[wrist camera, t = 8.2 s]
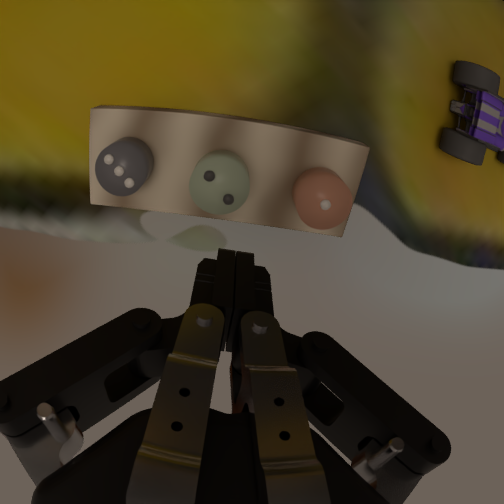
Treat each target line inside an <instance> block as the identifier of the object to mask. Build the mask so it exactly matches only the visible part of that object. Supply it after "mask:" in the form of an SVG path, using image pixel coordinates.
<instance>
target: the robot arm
mask: <svg viewBox="0 0 504 504" xmlns="http://www.w3.org/2000/svg"><path fill="white" fill-rule="evenodd" d="M503 1H504V0H503ZM235 253H236V256H235ZM270 281H271V280H270V274H269V273H268V271H267V270H266V268H265V267H262V266H255V265H254V254H253V253H247V252H241V251H237V252H236V251H234V250H227V249H221V248H219V249H218V256H217V260H215V259H208V258H204V259H203V260H202V261H201V262H200V263H199V264H198V267H197V272H196V277H195V282H194V286H193V291H192V296H191V302H190V306H189V308H188V309H187V310H186V312H185V313H184V314H182V315H180V316H178V317H174V318H166V319H161V317H160V316H159V315H158V314H157V313H156V312H155V311H153V310H150V309H147V308H136V309H132V310H130V311H128V312H126V313H124V314H122V315H121V316H119V317H117V318H115V319H113V320H111V321H109V322H108V323H106V324H104V325H102V326H100V327H98V328H97V329H95V330H93V331H92V332H89V333H87V334H86V335H84V336H82V337H80V338H78V339H76V340H75V341H73V342H71V343H69V344H67V345H65V346H64V347H62V348H60V349H58V350H56V351H54V352H53V353H51V354H49V355H47V356H46V357H44V358H42V359H40V360H38V361H36V362H34V363H33V364H31V365H29V366H27V367H25V368H24V369H22V370H20V371H18V372H16V373H15V374H13V375H11V376H9V377H7V378H5V379H3V380H2V381H0V432H1V433H2V435H3V436H4V437H5V438H6V439H7V440H8V441H9V443H10V444H11V446H12V448H13V450H14V451H15V453H16V454H17V457H18V458H19V460H20V462H21V463H22V465H23V467H24V468H25V470H26V471H27V473H28V474H29V476H30V477H31V479H32V480H33V482H34V483H35V485H36V486H37V487H36V489H35V491H34V493H33V496H32V501H31V504H403V502H404V501H405V500H406V498H407V497H408V496H409V495H410V493H411V492H412V491H413V489H414V488H415V486H416V485H417V484H418V482H419V480H420V479H421V478H422V476H424V475H425V474H427V473H428V472H430V471H431V470H433V469H434V468H436V467H438V466H439V465H441V464H442V463H444V462H445V461H446V460H447V459H448V458H449V456H450V453H451V445H450V441H449V439H448V438H447V436H446V435H445V434H444V433H443V432H442V431H441V430H440V429H438V428H437V427H436V426H435V425H434V424H433V423H431V422H430V421H429V420H428V419H426V418H425V417H424V416H423V415H422V414H421V413H419V412H418V411H417V410H416V409H415V408H414V407H412V406H411V405H410V404H409V403H408V402H406V401H405V400H404V399H403V398H402V397H400V396H399V395H398V394H397V393H396V392H395V391H394V390H392V389H391V388H390V387H389V386H388V385H386V384H385V383H384V382H383V381H382V380H380V379H379V378H378V377H377V376H376V375H375V374H374V373H372V372H371V371H370V370H369V369H368V368H367V367H365V366H364V365H363V364H362V363H361V362H360V361H358V360H357V359H356V358H355V357H354V356H352V355H351V354H350V353H349V352H348V351H347V350H346V349H344V348H343V347H342V346H341V345H340V344H339V343H338V342H336V341H335V340H334V339H333V338H332V337H330V336H329V335H327V334H325V333H322V332H318V331H313V332H308V333H306V334H305V335H304V336H303V337H299V336H296V335H293V334H290V333H288V332H286V331H285V330H283V329H282V328H281V327H280V325H279V323H278V321H277V319H276V318H275V317H274V311H273V301H272V292H271V282H270ZM225 343H226V351H227V352H232V360H231V365H230V384H231V400H232V414H226V413H223V412H220V411H217V410H214V409H211V408H210V403H211V397H212V391H213V385H214V379H215V373H216V368H217V364H218V362H219V357H220V352H221V351H224V348H225ZM160 379H161V380H160ZM159 380H160V383H159V386H158V390H157V393H156V396H155V400H154V403H153V407H152V408H150V409H146V410H143V411H140V412H138V413H136V414H134V415H132V416H130V417H129V418H128V419H126V420H125V421H124V422H122V423H121V424H120V425H118V426H117V427H116V428H114V429H113V430H112V431H110V432H109V433H108V434H106V435H105V436H104V437H102V438H101V439H99V440H98V441H97V442H95V443H94V444H93V445H91V446H90V447H88V448H87V449H86V450H84V451H83V452H82V453H80V454H79V455H77V456H76V457H75V458H73V456H74V455H75V454H76V453H77V452H78V451H79V450H80V449H81V447H82V445H83V440H84V438H83V433H82V432H84V431H85V430H87V429H89V428H90V427H91V426H93V425H95V424H96V423H98V422H99V421H101V420H102V419H104V418H105V417H107V416H108V415H110V414H111V413H113V412H114V411H116V410H117V409H119V408H120V407H122V406H123V405H124V404H126V403H127V402H129V401H130V400H132V399H133V398H135V397H136V396H137V395H139V394H140V393H142V392H143V391H145V390H146V389H148V388H149V387H150V386H152V385H153V384H155V383H156V382H158V381H159ZM321 382H322V383H324V384H325V385H326V386H327V387H328V388H329V389H330V390H331V391H332V392H333V393H334V394H335V395H336V396H337V397H339V398H340V399H341V400H340V399H339V398H337V397H336V396H335V395H334V394H333V393H332V392H331V391H330V390H329V389H327V387H326V386H324V385H323V384H322V383H321ZM308 421H310V422H311V423H312V424H313V425H314V426H315V427H316V428H317V429H318V430H319V431H320V432H321V433H322V434H323V435H324V436H325V437H326V438H327V439H328V440H329V441H330V442H331V443H332V444H334V445H335V446H336V447H337V448H338V449H339V450H340V451H341V452H342V453H343V454H344V455H345V456H346V457H348V458H349V459H350V460H351V466H350V465H349V464H348V463H347V462H346V461H345V460H344V459H343V458H342V457H341V456H340V455H338V453H337V452H336V451H335V450H334V449H333V448H332V447H331V446H330V445H329V444H328V443H327V442H326V441H325V440H324V439H323V438H322V437H321V436H320V435H319V434H318V433H316V432H315V431H314V430H312V429H311V428H310V427H309V423H308ZM72 458H73V459H72Z"/></svg>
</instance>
